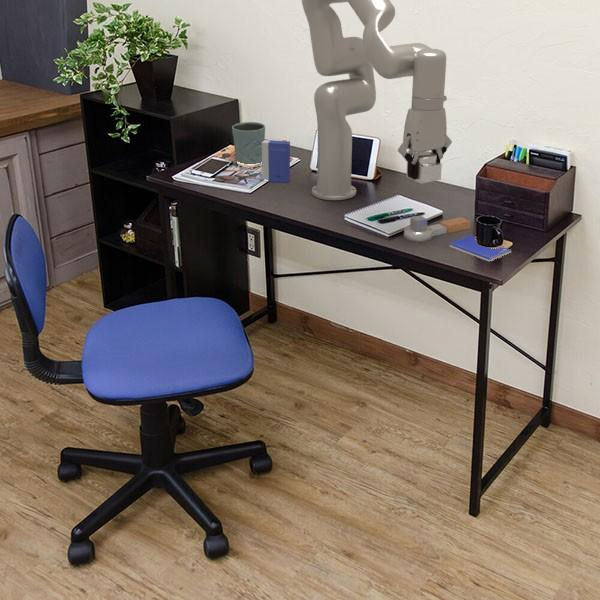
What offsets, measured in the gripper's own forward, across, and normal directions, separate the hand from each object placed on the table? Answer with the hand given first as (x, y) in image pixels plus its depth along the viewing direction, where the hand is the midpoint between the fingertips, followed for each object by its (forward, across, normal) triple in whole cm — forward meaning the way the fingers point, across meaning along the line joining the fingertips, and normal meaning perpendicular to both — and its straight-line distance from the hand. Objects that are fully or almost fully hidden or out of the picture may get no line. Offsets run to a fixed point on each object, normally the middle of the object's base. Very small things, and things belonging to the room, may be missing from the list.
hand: (423, 175), depth 227 cm
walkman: (+16, +11, -56) cm, 59 cm away
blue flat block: (+17, -7, +15) cm, 23 cm away
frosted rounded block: (+1, 0, 0) cm, 1 cm away
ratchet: (+16, -5, +1) cm, 17 cm away
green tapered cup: (+16, +11, -74) cm, 76 cm away
